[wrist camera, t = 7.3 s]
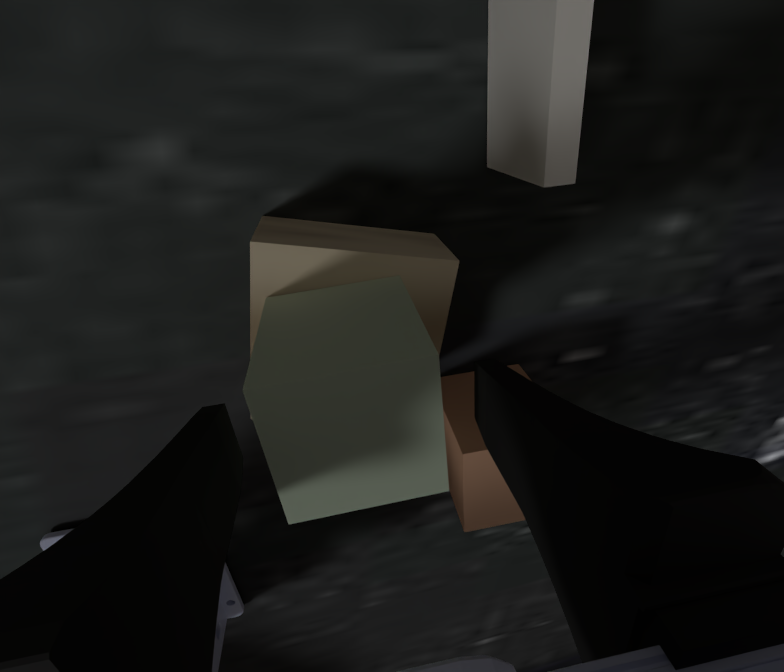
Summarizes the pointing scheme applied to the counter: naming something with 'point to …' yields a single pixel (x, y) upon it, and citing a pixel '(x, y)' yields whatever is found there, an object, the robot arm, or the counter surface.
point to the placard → (537, 87)
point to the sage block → (347, 399)
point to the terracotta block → (473, 460)
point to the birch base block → (350, 265)
